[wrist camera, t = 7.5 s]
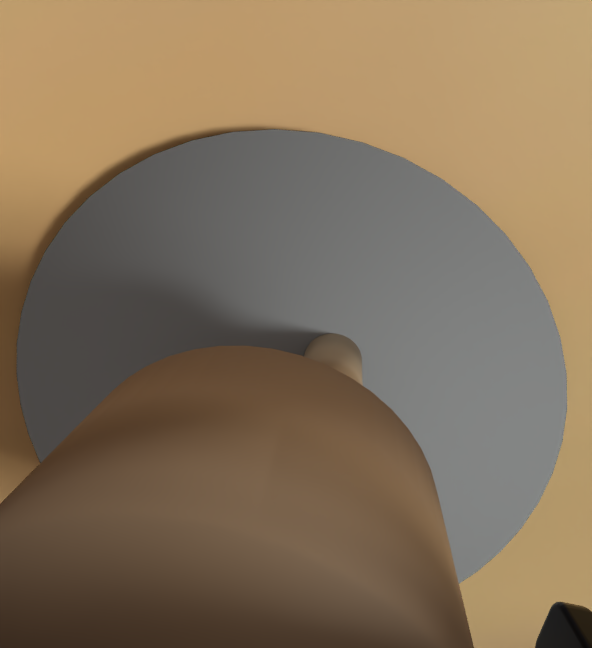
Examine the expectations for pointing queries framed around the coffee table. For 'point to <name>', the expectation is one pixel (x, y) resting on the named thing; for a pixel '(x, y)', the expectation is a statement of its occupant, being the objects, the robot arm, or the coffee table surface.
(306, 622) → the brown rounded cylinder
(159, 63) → the coffee table surface
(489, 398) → the felt mat
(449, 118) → the coffee table surface
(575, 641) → the robot arm
